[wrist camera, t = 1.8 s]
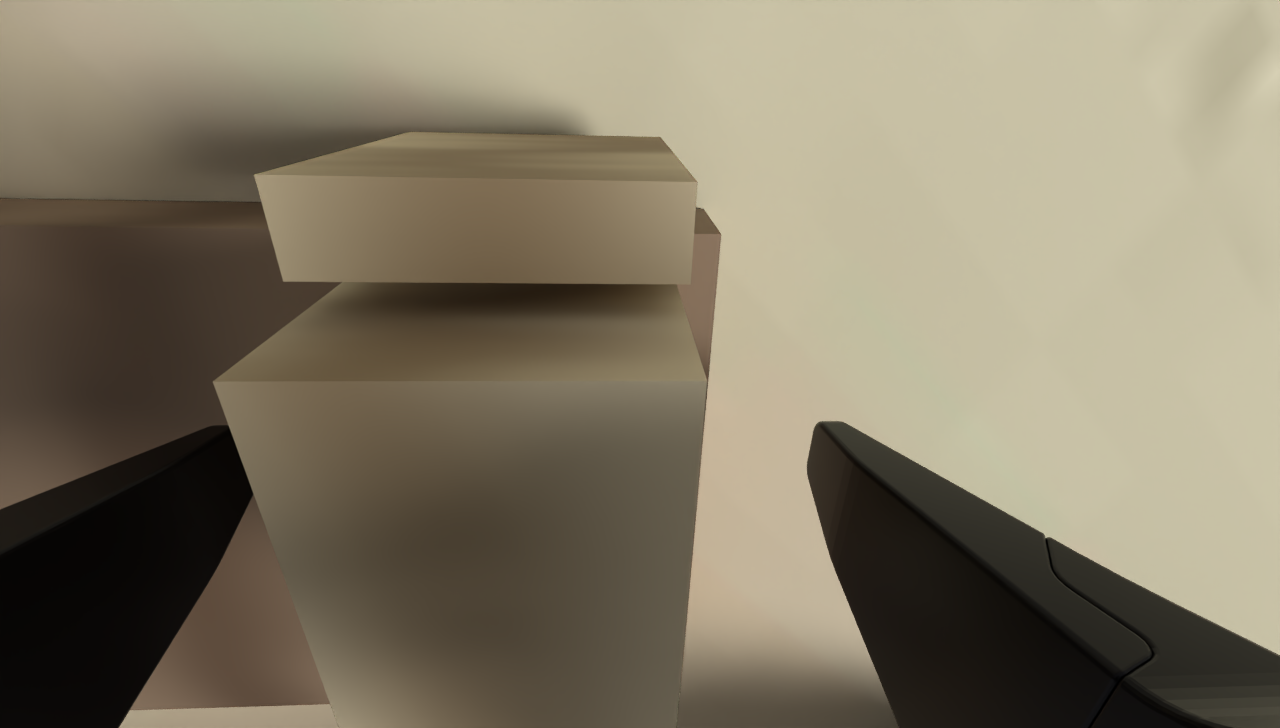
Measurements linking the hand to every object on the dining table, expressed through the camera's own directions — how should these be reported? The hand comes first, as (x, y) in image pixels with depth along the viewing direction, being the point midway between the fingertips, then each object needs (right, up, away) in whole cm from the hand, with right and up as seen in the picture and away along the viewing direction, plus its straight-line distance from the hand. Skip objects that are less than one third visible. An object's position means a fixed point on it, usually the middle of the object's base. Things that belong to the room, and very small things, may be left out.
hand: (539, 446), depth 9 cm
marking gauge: (0, 0, +3) cm, 3 cm away
